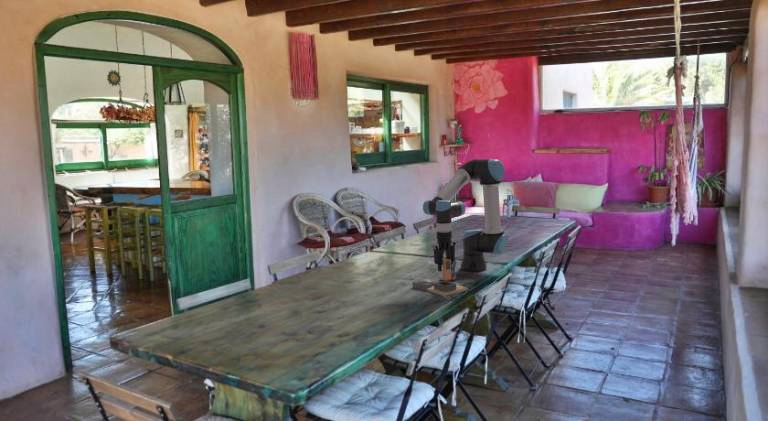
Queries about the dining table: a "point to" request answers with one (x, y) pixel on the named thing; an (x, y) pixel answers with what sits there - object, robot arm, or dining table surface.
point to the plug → (446, 269)
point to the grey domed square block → (424, 283)
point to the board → (446, 288)
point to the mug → (452, 271)
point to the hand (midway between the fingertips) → (444, 276)
